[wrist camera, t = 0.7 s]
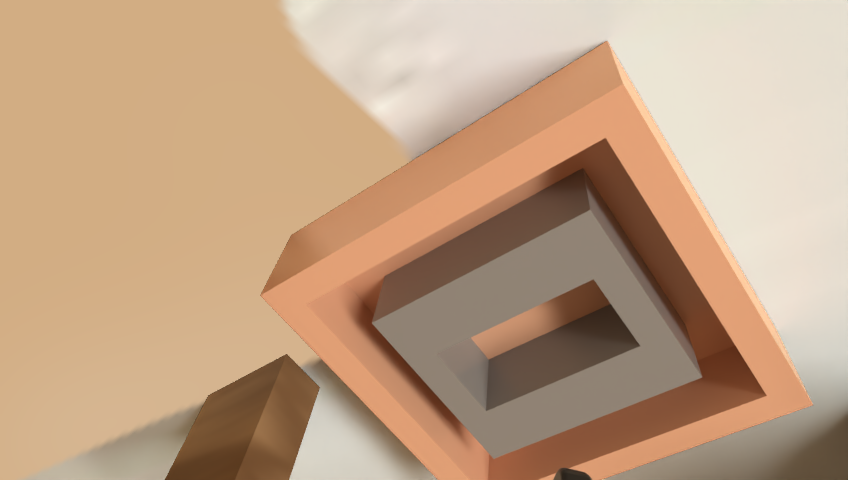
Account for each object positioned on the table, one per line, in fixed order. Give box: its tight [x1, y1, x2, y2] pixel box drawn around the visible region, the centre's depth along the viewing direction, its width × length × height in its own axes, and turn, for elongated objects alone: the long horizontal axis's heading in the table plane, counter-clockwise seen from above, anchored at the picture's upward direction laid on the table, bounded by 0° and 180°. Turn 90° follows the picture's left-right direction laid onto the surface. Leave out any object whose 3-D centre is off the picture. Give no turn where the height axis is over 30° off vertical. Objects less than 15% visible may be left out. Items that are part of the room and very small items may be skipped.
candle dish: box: [260, 41, 813, 480], centre depth 23 cm, size 12×12×4 cm
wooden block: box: [165, 354, 320, 480], centre depth 25 cm, size 2×4×8 cm, turn 126°
